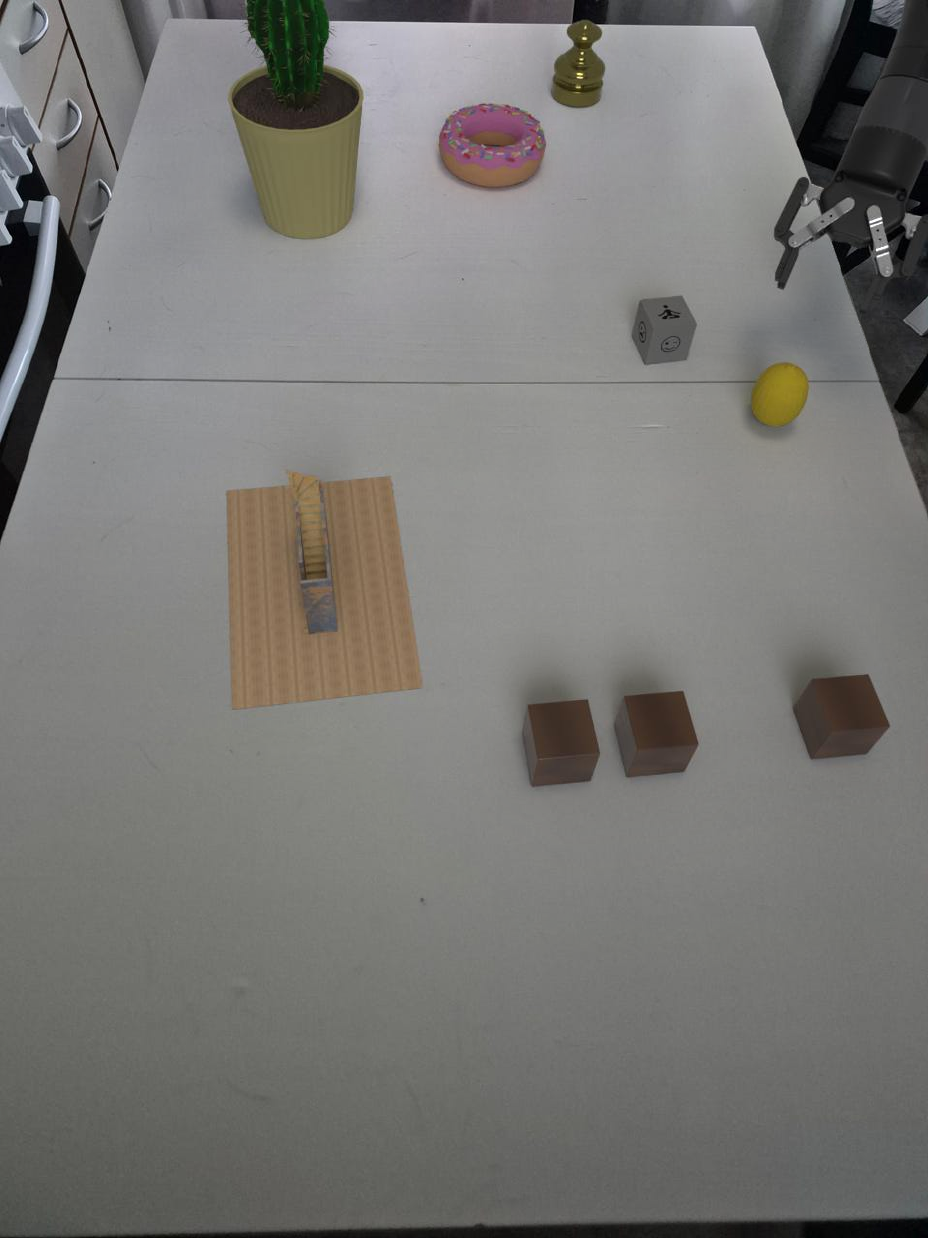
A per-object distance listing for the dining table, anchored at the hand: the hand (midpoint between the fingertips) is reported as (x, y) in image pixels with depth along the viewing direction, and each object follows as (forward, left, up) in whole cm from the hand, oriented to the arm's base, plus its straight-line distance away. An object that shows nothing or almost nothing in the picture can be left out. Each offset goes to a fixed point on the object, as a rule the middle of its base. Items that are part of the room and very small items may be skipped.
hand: (820, 300), depth 99 cm
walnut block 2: (+26, +43, -11) cm, 51 cm away
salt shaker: (+12, -63, -11) cm, 65 cm away
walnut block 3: (+10, +43, -11) cm, 45 cm away
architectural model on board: (+53, +23, -11) cm, 59 cm away
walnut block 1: (+34, +43, -11) cm, 56 cm away
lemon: (+4, +6, -11) cm, 13 cm away
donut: (+27, -46, -11) cm, 55 cm away
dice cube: (+13, -7, -11) cm, 19 cm away
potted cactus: (+52, -36, -11) cm, 64 cm away
